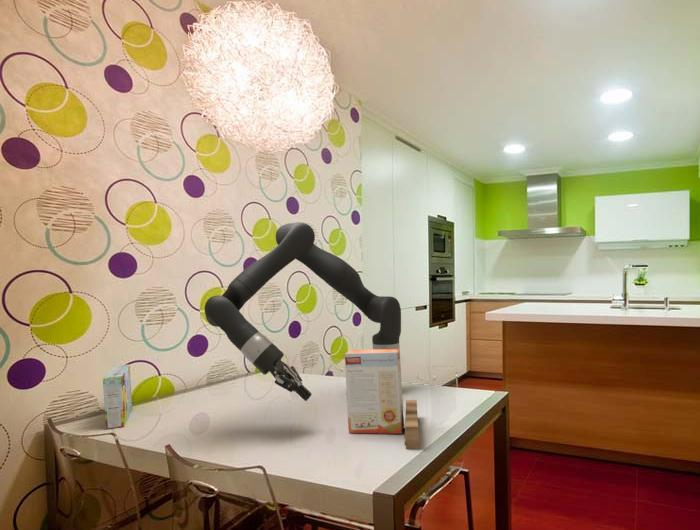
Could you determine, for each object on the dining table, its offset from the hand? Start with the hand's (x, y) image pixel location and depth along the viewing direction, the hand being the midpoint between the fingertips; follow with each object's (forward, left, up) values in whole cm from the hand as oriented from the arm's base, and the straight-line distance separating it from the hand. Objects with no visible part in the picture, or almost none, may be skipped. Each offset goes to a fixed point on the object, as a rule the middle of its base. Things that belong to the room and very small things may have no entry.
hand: (309, 397), depth 125 cm
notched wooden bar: (0, +27, -9) cm, 28 cm away
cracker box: (-1, +17, -9) cm, 20 cm away
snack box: (-14, -63, -9) cm, 66 cm away
